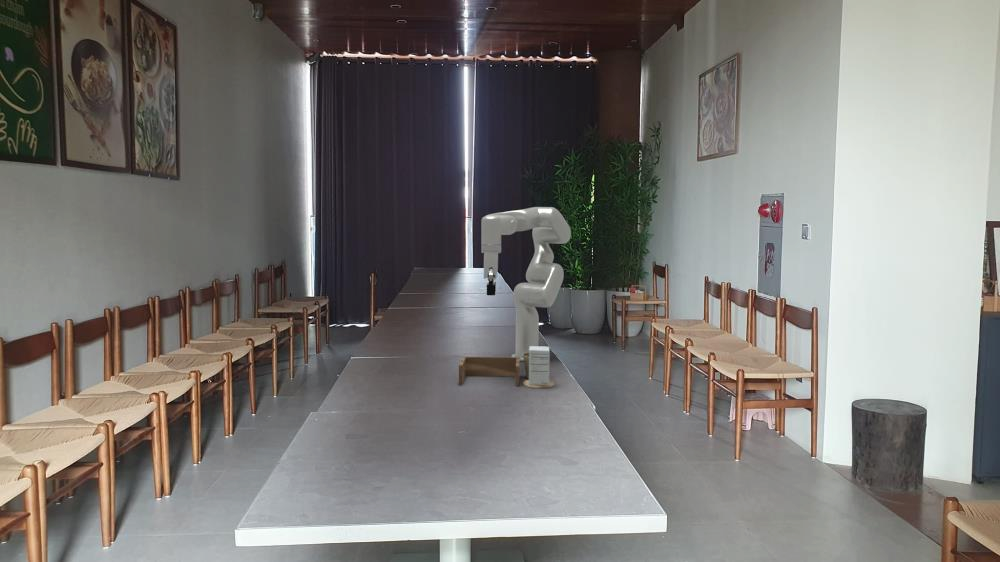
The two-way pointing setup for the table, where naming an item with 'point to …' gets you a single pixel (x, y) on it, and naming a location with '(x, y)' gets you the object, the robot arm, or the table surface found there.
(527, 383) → the coaster
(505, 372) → the brown angled piece
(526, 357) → the flower pot
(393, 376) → the table surface
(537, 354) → the supplement box
